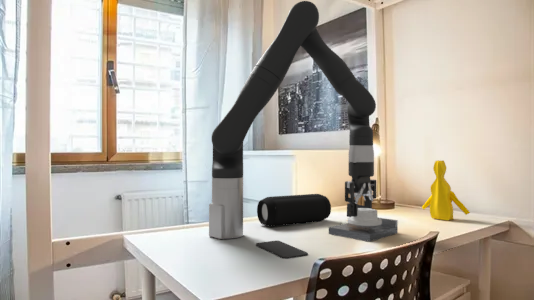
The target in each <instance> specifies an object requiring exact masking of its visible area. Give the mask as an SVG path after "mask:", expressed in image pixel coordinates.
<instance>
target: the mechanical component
mask: <svg viewBox="0 0 534 300" xmlns="http://www.w3.org/2000/svg"><path fill="white" fill-rule="evenodd" d="M377 217H378V209H375V208H372V209H371V208H358V211H357V216H356V217H353V216H351V217H347V220H346V221H347V222H346V223H350V224H354V225H361V226H377V225H381V224H382V220H381V219H379V218H380V217H378V218H377Z"/></svg>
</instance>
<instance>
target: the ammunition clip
mask: <svg viewBox="0 0 534 300" xmlns="http://www.w3.org/2000/svg"><path fill="white" fill-rule="evenodd" d="M354 193H355V192H354ZM349 197H350V194H348V198H349ZM354 199H355V197H354ZM364 201H365V200H364V197H363V195H361V197H360V198H359V200H358V203H357V204H358V208H364ZM346 217H347V218H349V217H351V216H350V203H349V202H347V203H346Z"/></svg>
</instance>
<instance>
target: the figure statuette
mask: <svg viewBox="0 0 534 300" xmlns="http://www.w3.org/2000/svg"><path fill="white" fill-rule="evenodd" d="M432 167H433V168H432V169H433V172H434V174H435V179H434V181H433V182H432V184H431V185H430V193H431V195H430V196H429V197H428V198H427V200H426V201H425V203H424V204H423V205H422V206H421V208H422V210H425V209H426V208H429V214H430V217H431V218H432V219H436V220H441V221H450V220H451V221H452V220H454V208H453V207H454V206H453V204H454V205H456V206H457V207H458V208H459V209H460V210H461V211H462V213H464V215H465V216H467V215H469V214H470V213H471V212H470V211H469V209H468V208H467V207H466V206H465V204H463V202H461V201H460V199H458V197H457V196H456V194H455V192H454V191H452V188H451V185H450V184H449V182H448V181H447V179H446V178H445V174H446V173H447V165H446V162H445V160H435V161H434V164H433V166H432ZM452 202H453V204H452Z"/></svg>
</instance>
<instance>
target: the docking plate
mask: <svg viewBox="0 0 534 300" xmlns="http://www.w3.org/2000/svg"><path fill="white" fill-rule="evenodd" d="M377 218H379V219H381V220H382V224H381V225H377V226H361V225H354V224H350V223H348V222H346V223H342V224H337V225H332V226H328V235H332V236H333V235H334V236H339V237H344V238H347V239H349V238H350V239H353V240H359V241H364V242H370V243H371V242H373V241H376V240H377V241H378V240H380V239H384V238H387V237H389V236H393V235H396V234H398V233H399V232H398V230H399V229H398V219H391V218H386V217H385V218H383V217H378V216H377Z"/></svg>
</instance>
